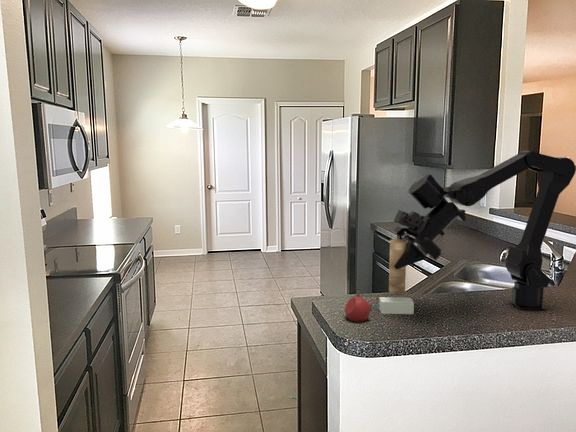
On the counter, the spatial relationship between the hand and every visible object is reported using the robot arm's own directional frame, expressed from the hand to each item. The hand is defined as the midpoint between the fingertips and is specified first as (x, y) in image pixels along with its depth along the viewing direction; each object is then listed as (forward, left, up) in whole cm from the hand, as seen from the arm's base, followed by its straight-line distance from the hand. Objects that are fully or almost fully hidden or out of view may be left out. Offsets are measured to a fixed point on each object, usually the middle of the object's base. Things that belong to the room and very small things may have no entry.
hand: (392, 265), depth 123 cm
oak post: (-1, 0, -7) cm, 7 cm away
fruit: (+8, +6, -12) cm, 15 cm away
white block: (-1, 0, -12) cm, 12 cm away
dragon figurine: (+7, -1, -12) cm, 14 cm away
